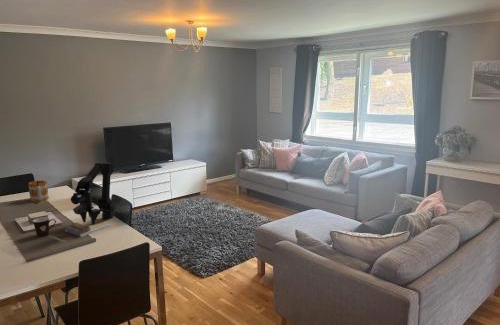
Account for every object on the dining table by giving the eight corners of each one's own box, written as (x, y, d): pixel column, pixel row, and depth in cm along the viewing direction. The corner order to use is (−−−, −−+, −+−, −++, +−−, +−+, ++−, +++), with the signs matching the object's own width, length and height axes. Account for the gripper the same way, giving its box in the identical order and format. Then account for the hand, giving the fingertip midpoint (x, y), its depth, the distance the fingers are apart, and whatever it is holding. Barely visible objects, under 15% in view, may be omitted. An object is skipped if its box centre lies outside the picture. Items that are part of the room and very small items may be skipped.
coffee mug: (33, 238, 225) (31, 222, 223) (37, 233, 233) (35, 218, 231) (54, 236, 228) (52, 220, 226) (57, 231, 236) (55, 216, 234)
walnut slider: (77, 228, 237) (76, 222, 237) (90, 232, 230) (89, 226, 229) (71, 230, 234) (70, 224, 233) (84, 234, 226) (83, 228, 226)
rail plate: (95, 222, 250) (94, 217, 249) (111, 227, 240) (111, 221, 240) (65, 233, 233) (64, 226, 232) (82, 238, 223) (81, 232, 222)
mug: (29, 199, 309) (27, 181, 306) (48, 196, 316) (46, 179, 313) (31, 205, 293) (28, 186, 290) (50, 202, 300) (48, 184, 297)
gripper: (65, 200, 231) (68, 224, 234) (83, 205, 221) (86, 230, 224) (82, 196, 241) (84, 219, 244) (99, 200, 231) (102, 224, 233)
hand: (88, 223), depth 236 cm, fingers open, 9 cm apart
